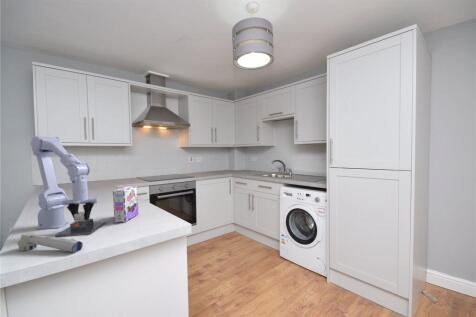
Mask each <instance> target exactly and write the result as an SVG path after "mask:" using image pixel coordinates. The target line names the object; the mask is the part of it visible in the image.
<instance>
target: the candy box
mask: <svg viewBox="0 0 476 317" xmlns="http://www.w3.org/2000/svg"><path fill="white" fill-rule="evenodd" d="M112 197H113V219H114V220H113V221H114V223H115V224H117V223H120V224H121V223H122V224H123V223H127V222H129V221H130V220H131V219H133V218H136V217H137V216H138V215H139V204H138V203H139V202H138V200H139V199H138V198H139V197H138V186H137V185H135V186H134V185H132V186H129V185H128V186H125V187H121V188H117V189H113V191H112ZM136 215H137V216H136Z"/></svg>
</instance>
